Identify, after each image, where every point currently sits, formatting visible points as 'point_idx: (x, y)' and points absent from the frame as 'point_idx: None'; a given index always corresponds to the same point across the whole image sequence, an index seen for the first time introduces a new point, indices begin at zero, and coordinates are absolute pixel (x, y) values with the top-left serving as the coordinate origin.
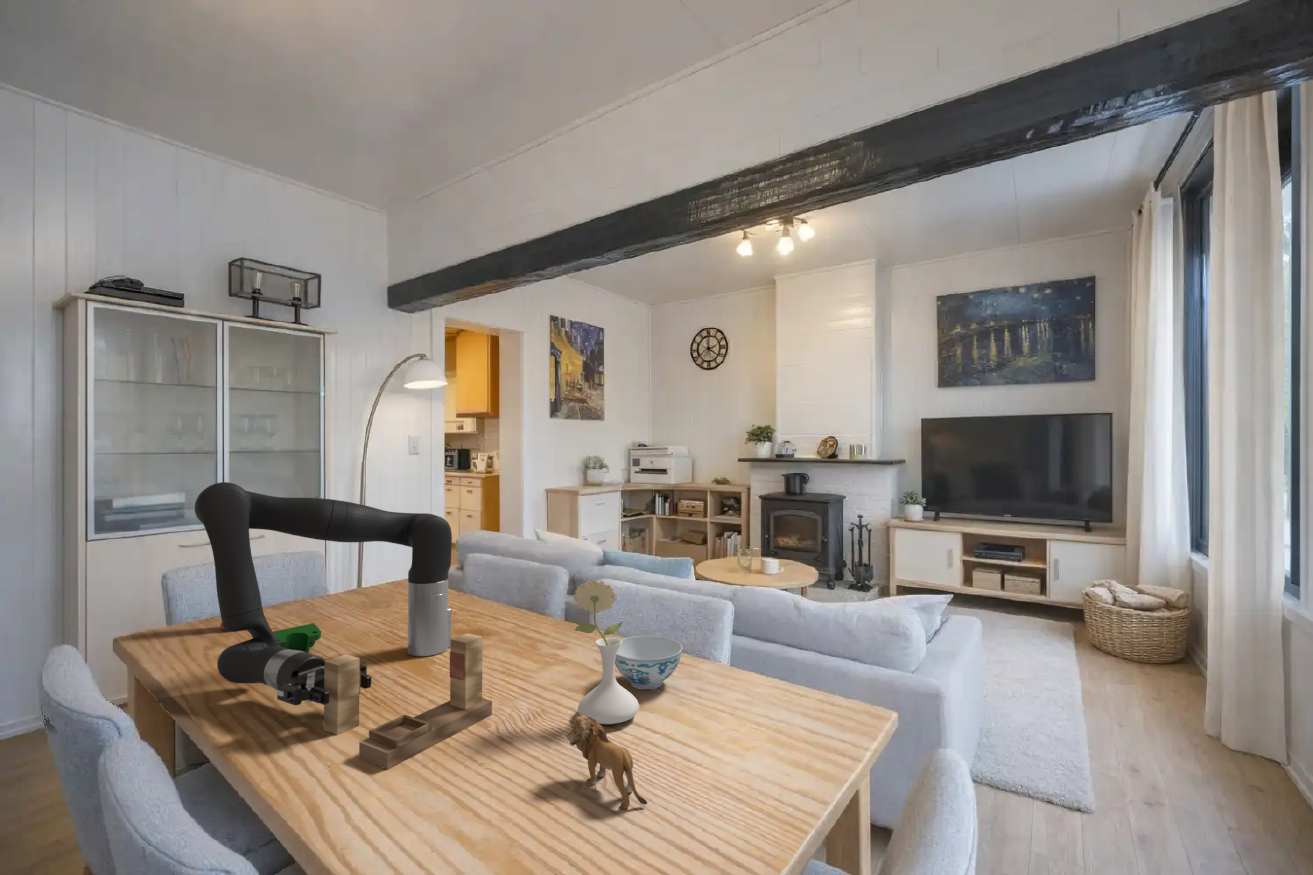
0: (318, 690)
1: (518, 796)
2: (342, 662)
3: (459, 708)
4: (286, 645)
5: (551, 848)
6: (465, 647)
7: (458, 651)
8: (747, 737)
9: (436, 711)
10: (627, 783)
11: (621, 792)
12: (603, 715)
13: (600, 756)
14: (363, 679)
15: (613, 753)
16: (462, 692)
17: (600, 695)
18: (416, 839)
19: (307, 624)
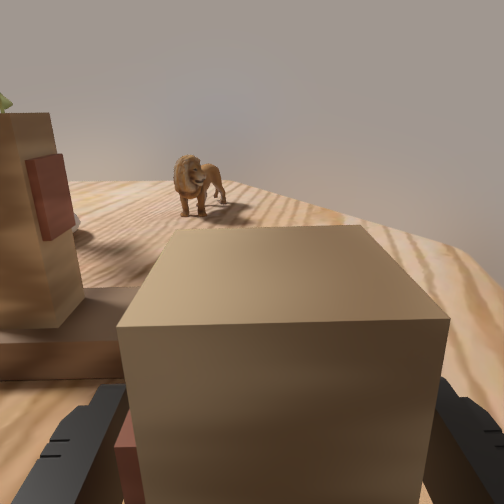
0: (482, 437)
1: None
2: (311, 234)
3: (81, 306)
4: None
5: (296, 206)
6: (51, 128)
7: (39, 149)
8: (76, 198)
9: (111, 326)
10: (205, 195)
11: (224, 191)
12: (76, 215)
13: (207, 179)
14: (119, 432)
15: (212, 167)
16: (72, 262)
17: None
18: (372, 236)
19: None
